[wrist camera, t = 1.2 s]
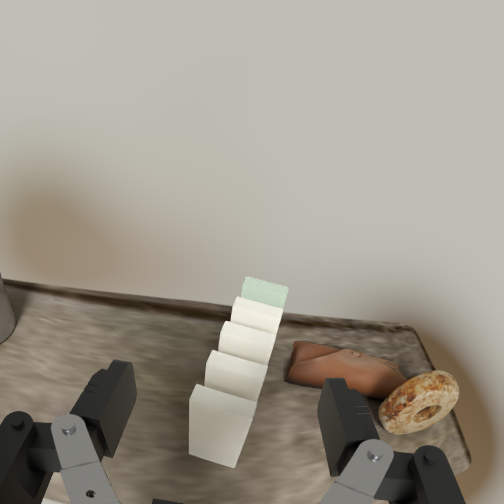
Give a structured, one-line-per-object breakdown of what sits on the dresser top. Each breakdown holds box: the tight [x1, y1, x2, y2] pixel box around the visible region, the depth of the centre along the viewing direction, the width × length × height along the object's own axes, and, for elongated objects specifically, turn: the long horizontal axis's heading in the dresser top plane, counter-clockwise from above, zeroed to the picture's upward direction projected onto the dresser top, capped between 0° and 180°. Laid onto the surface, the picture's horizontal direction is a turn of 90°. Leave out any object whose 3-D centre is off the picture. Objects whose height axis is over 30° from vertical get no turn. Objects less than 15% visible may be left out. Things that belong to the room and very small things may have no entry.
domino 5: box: [189, 384, 258, 468], centre depth 26 cm, size 2×5×12 cm, turn 76°
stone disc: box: [379, 370, 459, 435], centre depth 32 cm, size 10×4×10 cm, turn 90°
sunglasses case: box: [284, 341, 408, 400], centre depth 41 cm, size 18×7×7 cm
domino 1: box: [241, 276, 288, 309], centre depth 39 cm, size 2×5×12 cm, turn 76°
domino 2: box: [230, 296, 283, 335], centre depth 36 cm, size 2×5×12 cm, turn 76°
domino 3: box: [218, 321, 276, 366], centre depth 33 cm, size 2×5×12 cm, turn 77°
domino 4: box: [204, 350, 268, 402], centre depth 29 cm, size 2×5×12 cm, turn 76°
